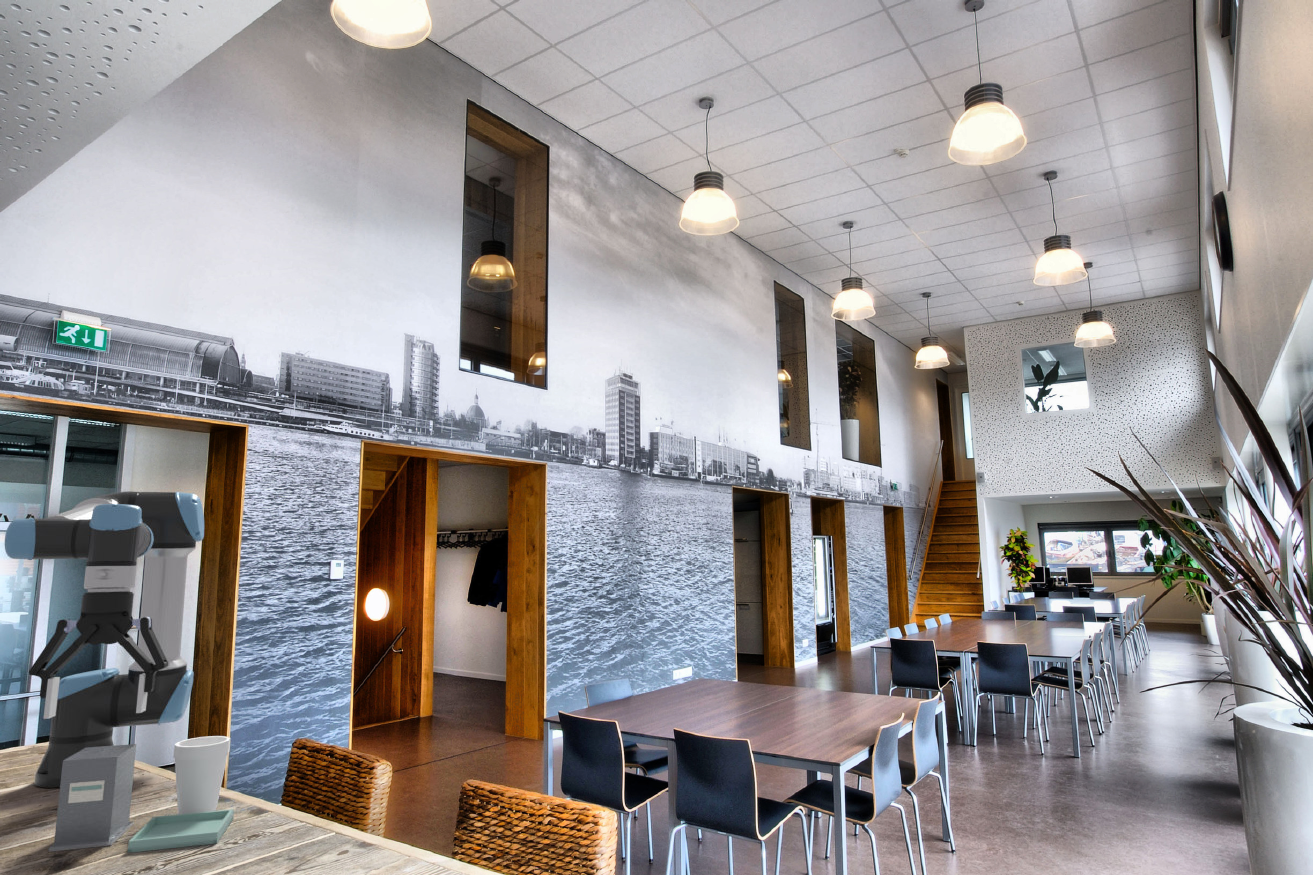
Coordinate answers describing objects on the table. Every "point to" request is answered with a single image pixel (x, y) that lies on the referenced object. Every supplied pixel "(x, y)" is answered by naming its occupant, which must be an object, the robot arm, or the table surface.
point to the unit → (94, 797)
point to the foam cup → (200, 772)
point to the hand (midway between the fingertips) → (95, 714)
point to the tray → (181, 830)
